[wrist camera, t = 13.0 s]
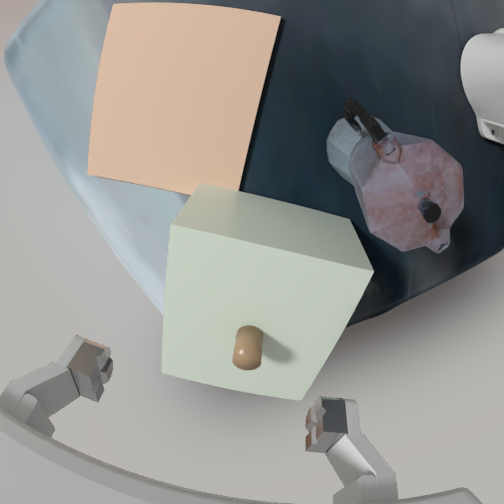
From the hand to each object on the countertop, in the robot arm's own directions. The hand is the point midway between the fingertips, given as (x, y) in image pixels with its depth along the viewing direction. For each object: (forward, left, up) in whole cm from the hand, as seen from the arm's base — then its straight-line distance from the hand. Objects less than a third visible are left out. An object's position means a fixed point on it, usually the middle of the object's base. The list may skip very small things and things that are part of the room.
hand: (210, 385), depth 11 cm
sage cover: (-3, +15, -31) cm, 35 cm away
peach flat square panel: (+13, -7, -32) cm, 35 cm away
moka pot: (-11, -6, -32) cm, 34 cm away
